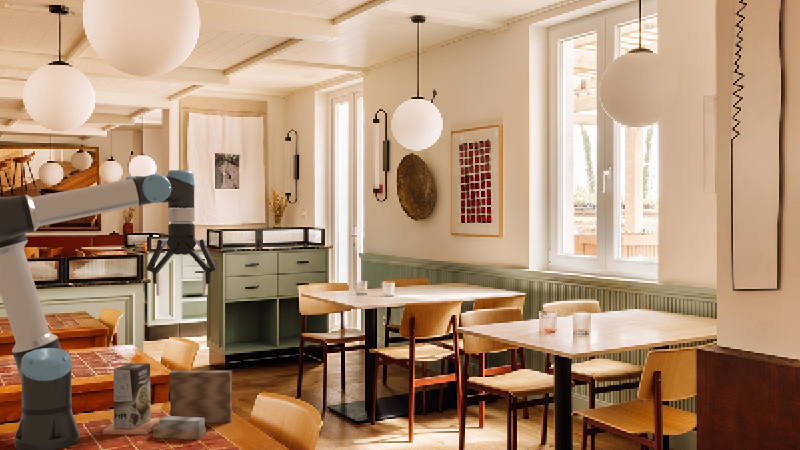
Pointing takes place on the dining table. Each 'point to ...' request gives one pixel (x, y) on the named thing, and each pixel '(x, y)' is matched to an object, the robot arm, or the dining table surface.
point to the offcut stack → (180, 428)
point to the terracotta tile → (139, 430)
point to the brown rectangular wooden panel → (201, 394)
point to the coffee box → (131, 395)
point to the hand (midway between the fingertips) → (182, 295)
